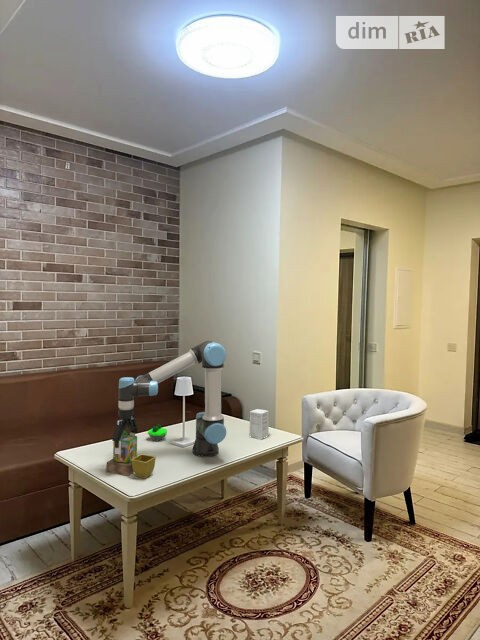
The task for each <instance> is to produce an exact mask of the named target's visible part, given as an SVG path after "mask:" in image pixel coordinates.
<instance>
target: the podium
mask: <svg viewBox="0 0 480 640" xmlns="http://www.w3.org/2000/svg"><path fill="white" fill-rule="evenodd" d="M105 471H106V473H110V474H117V475H121V476H129V477H130V476H131V475H133V474H135V473H134V471H133V467H132V461H131V462H130V463H124V462H114V461H113V458H112V459H110V460H107V461H106V470H105Z"/></svg>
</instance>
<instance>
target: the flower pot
mask: <svg viewBox="0 0 480 640" xmlns="http://www.w3.org/2000/svg"><path fill="white" fill-rule="evenodd" d="M156 458H157V456H154V455H148V454H143V453H141V454H138V455H137V457H135V458H134V459H132V467H133V471H134V473H133V474H134V475H135V476H136V477H138V478H143V479H146V478H148V477H149V476H151V475H152V473H153V472H154V469H155V465H156Z"/></svg>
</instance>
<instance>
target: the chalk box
mask: <svg viewBox="0 0 480 640" xmlns="http://www.w3.org/2000/svg"><path fill="white" fill-rule="evenodd" d="M120 441H121V454H115V441H112V442H113V443H112V445H113V449H112V452H113V453H112V454H113V455H112V457H113V458H112V459H113V461H114V462H124V463H130V462H131V461H132V459H134V458H135V457H137V456H138V436H137V435H135V436H132V435H130V434H128V432H127V429H124V431H123V433H122V436H121V438H120Z"/></svg>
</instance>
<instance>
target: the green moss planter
mask: <svg viewBox="0 0 480 640" xmlns="http://www.w3.org/2000/svg"><path fill="white" fill-rule="evenodd" d="M167 433H168V429H167V428H163V427H162V425H161V424H157V425H156V423H154V427H152V428H151V429H149V430H148V431H147V435H148V436H149V437H150V438H151V439H152V440H154V441H161V440H162V439H163V440H164V438H165V437H166V435H167Z"/></svg>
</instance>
